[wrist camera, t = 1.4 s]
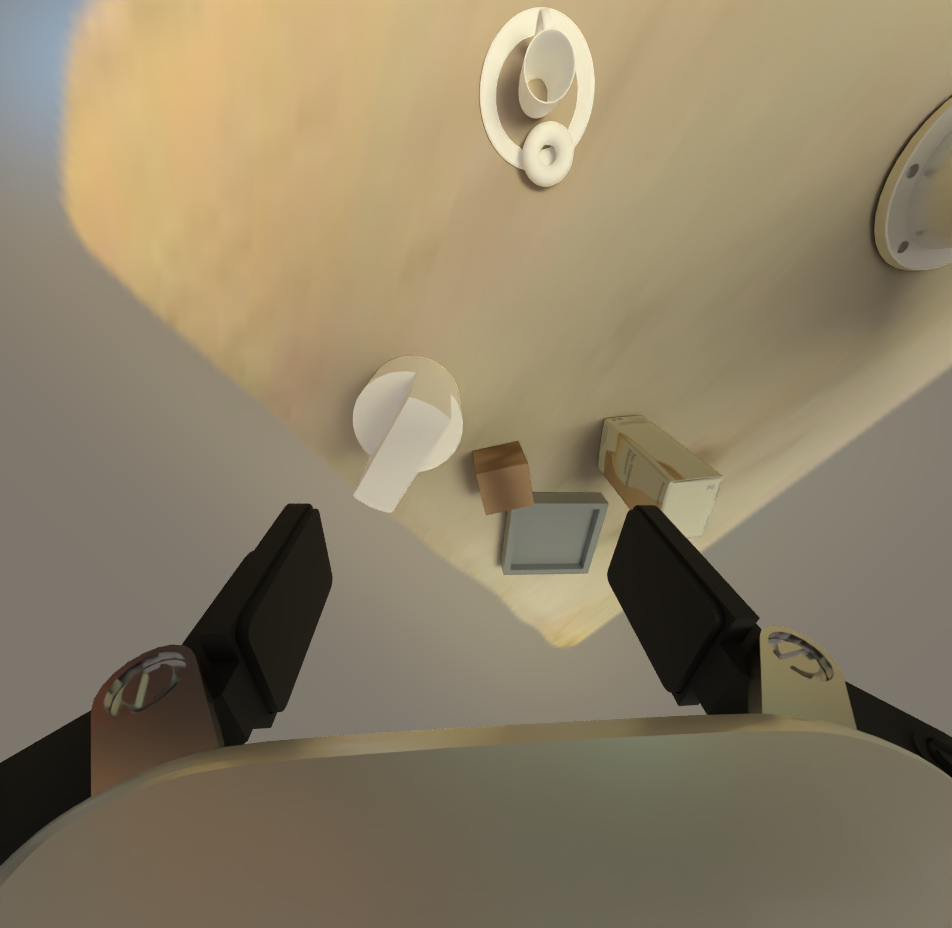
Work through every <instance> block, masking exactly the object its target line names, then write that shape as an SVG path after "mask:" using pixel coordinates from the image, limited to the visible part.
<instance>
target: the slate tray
mask: <svg viewBox="0 0 952 928" xmlns="http://www.w3.org/2000/svg"><path fill="white" fill-rule="evenodd" d="M532 494H533V501H534V505H532V506H527V507H522V508H518V509H513V510H508V511H507V517H506V525H505V533H504V542H503V550H502V558H501V565H502V570H503V575H527V574H584V573H588V571H589V568H590V564H591V561H592V557H593V554H594V551H595V547H596V544H597V541H598V537H599V534H600V531H601V527H602V524H603V521H604V517H605V514H606V510H607V507H608V502H607V501H606V499H605V498H604V497H603V495H602V494H601V493H546V492H532Z"/></svg>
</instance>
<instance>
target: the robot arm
mask: <svg viewBox="0 0 952 928" xmlns="http://www.w3.org/2000/svg"><path fill="white" fill-rule="evenodd" d="M874 233H875V241H876V246H877V248H878V251H879V253H880V255H881V256H882V258H883V259H884V260H885V261H886V262H887V263H888V264H890V265H891V266H893V267H895V268H898V269H902V270H929V269H936V268H940V267H942V266H945V265H948V264H951V263H952V97H951V98H950V99H949V100H948V101H946V102H945V103H944V104H943V105H942V106H941V107H940V108H939V109H938V110H937V111H936V112H935V113H934V114H933V115H932V116H931V117H930V118H929V119H928V120H927V121H926V122H925V123H924V124H923V126H922V127H921V128H920V129H919V130H918V132H917V133H916V134H915V135H914V136H913V138H912V139H911V140H910V142H909V143H908V145H907V146H906V148H905V149H904V151H903V152H902V154H901V155H900V157H899V158H898V160H897V161H896V163H895V165H894V167H893V169H892V171H891V173H890V174H889V176H888V178H887V181H886V183H885V186H884V188H883V191H882V193H881V196H880V199H879V203H878V207H877V211H876V215H875V227H874ZM607 577H608V582H609V584H610V586H611V588H612V590H613V592H614V593H615V595H616V597H617V599H618V601H619V603H620V605H621V607H622V609H623V611H624V612H625V614H626V616H627V618H628V620H629V622H630V624H631V625H632V628H633V629H634V631H635V633H636V635H637V637H638V639H639V641H640V642H641V645H642V647H643V648H644V650H645V652H646V654H647V656H648V658H649V660H650V662H651V663H652V666H653V667H654V669H655V671H656V673H657V675H658V677H659V679H660V681H661V683H662V684H663V686H664V688H665V689H666V690H667V691H669V692H671V693H672V695H673V696H674V698H675V700H676V702H677V704H678V706H686V705H698V704H699V703H700V704H701V705H702V707H703V709H704V710H705V712H706V713H705V715H693V716H692V715H689V716H670V717H650V718H630V719H612V720H593V721H592V720H591V721H573V722H555V723H537V724H519V725H504V726H485V727H467V728H450V729H434V730H418V731H402V732H388V733H370V734H354V735H340V736H328V737H315V738H303V739H290V740H279V741H266V742H259V743H252V744H244V743H245V742H247V741H248V739H249V737H250V734H251V732H252V730H253V729H258V728H271V727H272V724H273V721H274V719H275V716H276V714H277V712H282V711H283V710H284V709H285V707H286V705H287V703H288V701H289V698H290V695H291V693H292V690H293V687H294V684H295V682H296V679H297V677H298V674H299V671H300V669H301V666H302V663H303V661H304V658H305V655H306V653H307V650H308V647H309V645H310V642H311V639H312V637H313V634H314V631H315V629H316V626H317V623H318V621H319V618H320V616H321V613H322V610H323V608H324V605H325V602H326V599H327V597H328V594H329V591H330V589H331V586H332V572H331V567H330V562H329V557H328V552H327V548H326V543H325V538H324V533H323V528H322V523H321V518H320V514H319V511H318V509H313V507H312V505H311V504H288V505H286V507H285V508H284V509H283V511H282V512H281V513H280V515H279V516H278V517H277V519H276V520H275V522H274V523H273V525H272V526H271V528H270V529H269V530H268V532H267V533H266V534H265V536H264V537H263V539H262V540H261V541H260V543H259V544H258V546H257V547H256V549H255V550H254V551H252V552H250V553H249V554H248V555H247V556H246V557H245V558H244V560H243V561H242V562H241V564H240V565H239V566H238V568H237V569H236V571H235V572H234V573H233V575H232V576H231V577H230V579H229V580H228V582H227V583H226V584H225V586H224V587H223V589H222V590H221V591H220V593H219V594H218V596H217V597H216V598H215V600H214V601H213V602H212V604H211V605H210V607H209V608H208V609H207V611H206V612H205V613H204V615H203V616H202V618H201V619H200V620H199V622H198V623H197V624H196V626H195V627H194V629H193V630H192V631H191V633H190V634H189V635H188V637H187V638H186V640H185V641H184V642H183V644H182V645H167V646H162V647H158V648H155V649H153V650H150V651H148V652H145V653H143V654H141V655H139V656H138V657H136V658H134V659H132V660H131V661H129V662H127V663H126V664H125V665H124V666H122V667H121V668H120V669H118V670H117V671H116V672H115V673H113V674H112V676H111V677H110V678H109V679H108V680H107V681H106V682H105V683H104V684H103V685H102V686H101V688H100V690H99V691H98V693H97V695H96V696H95V698H94V700H93V704H92V709H91V711H89V712H87V713H85V714H84V715H82V716H80V717H79V718H77V719H75V720H74V721H72V722H70V723H68V724H67V725H65V726H63V727H61V728H60V729H58V730H56V731H55V732H53V733H51V734H50V735H48V736H46V737H44V738H42V739H41V740H39V741H37V742H35V743H34V744H32V745H30V746H29V747H27V748H25V749H23V750H22V751H20V752H19V753H17V754H15V755H13V756H11V757H10V758H8V759H6V760H4V761H3V762H1V763H0V928H952V737H950V736H949V735H947V734H945V733H944V732H942V731H939V730H938V729H936V728H934V727H932V726H930V725H928V724H926V723H924V722H922V721H920V720H919V719H917V718H915V717H913V716H911V715H909V714H907V713H905V712H903V711H901V710H899V709H898V708H895V707H894V706H892V705H890V704H888V703H886V702H884V701H882V700H880V699H878V698H876V697H875V696H873V695H871V694H869V693H867V692H865V691H863V690H861V689H859V688H857V687H855V686H853V685H851V684H849V683H848V682H846V681H845V680H844V677H843V674H842V672H841V669H840V667H839V665H838V664H837V663H836V662H835V660H834V659H833V658H832V657H831V656H830V655H829V654H828V653H827V652H826V651H825V650H824V649H823V648H822V647H821V646H819V645H818V644H816V643H815V642H813V641H812V640H811V639H809V638H808V637H806V636H804V635H802V634H800V633H798V632H796V631H793V630H790V629H788V628H785V627H780V626H767V627H765V628H764V629H762V630H761V628H760V627H759V626H758V625H757V624H756V622H757V621H758V619H759V617H758V616H757V615H756V614H755V612H754V611H753V610H752V609H751V608H750V607H749V606H748V605H747V604H746V603H745V601H744V600H743V599H742V598H741V597H740V596H739V595H738V594H737V593H736V592H735V591H734V589H733V588H732V587H731V586H730V585H729V584H728V583H727V582H726V581H725V580H724V579H723V577H722V576H721V575H720V574H719V573H718V572H717V571H716V570H715V569H714V568H713V566H712V565H711V564H710V563H709V562H708V561H707V560H706V559H705V558H704V557H703V556H702V554H701V553H700V552H699V551H698V550H697V549H696V548H695V547H694V546H693V545H692V544H691V542H690V541H689V540H688V539H687V538H686V537H685V536H684V535H683V534H682V533H681V531H680V530H679V529H678V528H677V527H676V526H675V525H674V524H673V523H672V522H671V521H670V519H669V518H668V517H667V516H666V515H665V514H664V513H663V512H662V511H661V510H660V509H659V508H658V507H657V506H655V505H636V506H635V507H633V509H632V510H629V511H628V513H627V516H626V519H625V522H624V525H623V528H622V531H621V534H620V537H619V539H618V542H617V545H616V548H615V551H614V554H613V557H612V560H611V563H610V566H609V569H608V573H607ZM243 744H244V745H243Z"/></svg>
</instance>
